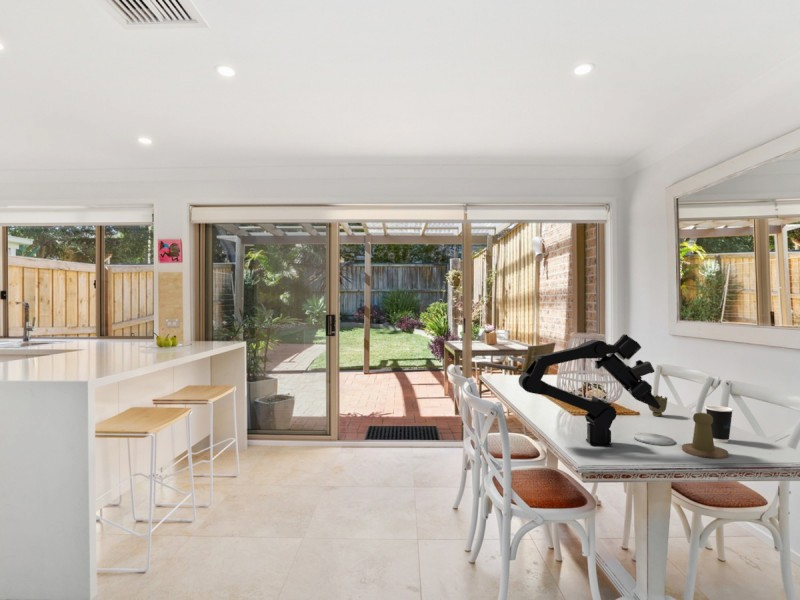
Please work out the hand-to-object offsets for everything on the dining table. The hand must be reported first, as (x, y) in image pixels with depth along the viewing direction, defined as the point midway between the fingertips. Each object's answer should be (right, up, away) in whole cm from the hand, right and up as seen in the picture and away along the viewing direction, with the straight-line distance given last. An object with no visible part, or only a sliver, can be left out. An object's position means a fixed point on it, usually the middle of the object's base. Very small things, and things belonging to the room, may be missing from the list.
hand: (656, 405), depth 147 cm
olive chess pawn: (+12, -13, -5) cm, 18 cm away
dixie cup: (+26, -14, +7) cm, 30 cm away
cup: (+24, -14, +43) cm, 51 cm away
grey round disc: (+4, -14, +8) cm, 16 cm away
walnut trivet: (+12, -13, -5) cm, 19 cm away
